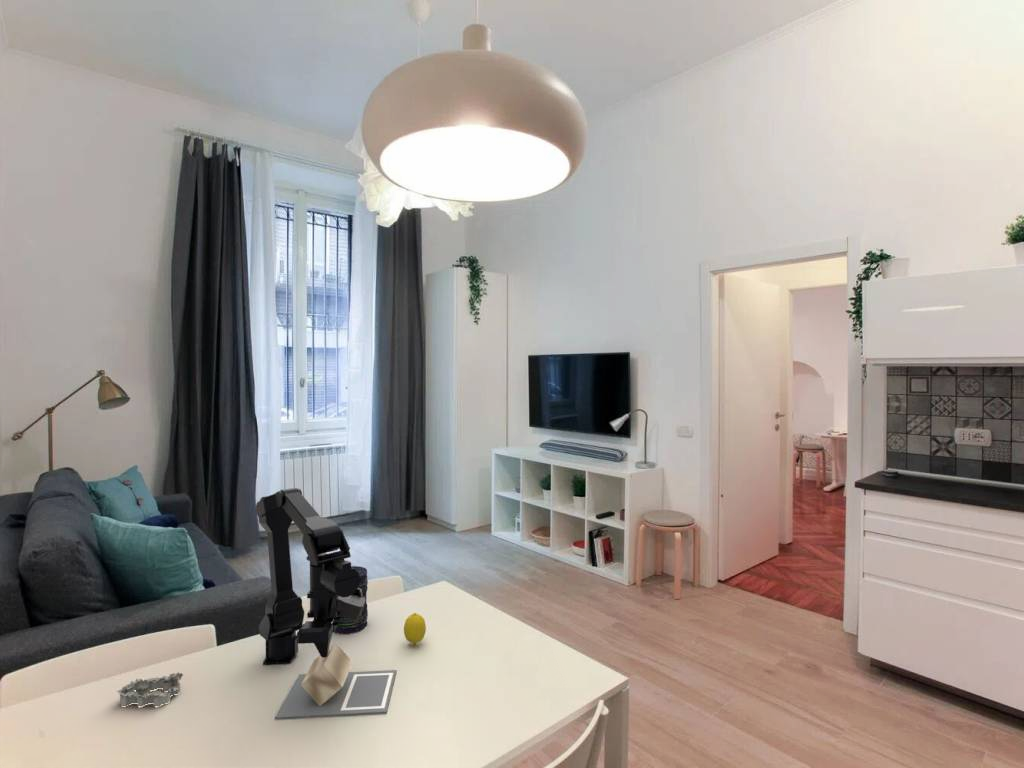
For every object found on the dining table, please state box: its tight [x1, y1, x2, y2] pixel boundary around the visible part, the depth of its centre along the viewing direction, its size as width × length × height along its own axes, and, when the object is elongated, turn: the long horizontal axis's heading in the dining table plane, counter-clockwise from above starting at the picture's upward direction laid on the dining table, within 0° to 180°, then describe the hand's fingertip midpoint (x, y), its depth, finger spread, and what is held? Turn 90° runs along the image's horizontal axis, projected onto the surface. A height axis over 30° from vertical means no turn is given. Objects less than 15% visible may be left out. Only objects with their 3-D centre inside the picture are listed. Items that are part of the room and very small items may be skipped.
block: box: [301, 642, 354, 706], centre depth 117 cm, size 6×10×6 cm
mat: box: [274, 669, 397, 720], centre depth 118 cm, size 22×16×1 cm
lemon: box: [403, 612, 427, 645], centre depth 140 cm, size 6×6×8 cm
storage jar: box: [335, 565, 369, 635], centre depth 150 cm, size 10×10×15 cm
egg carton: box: [115, 672, 184, 707], centre depth 116 cm, size 11×8×4 cm
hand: (324, 656), depth 117 cm, fingers closed, pressing on block
